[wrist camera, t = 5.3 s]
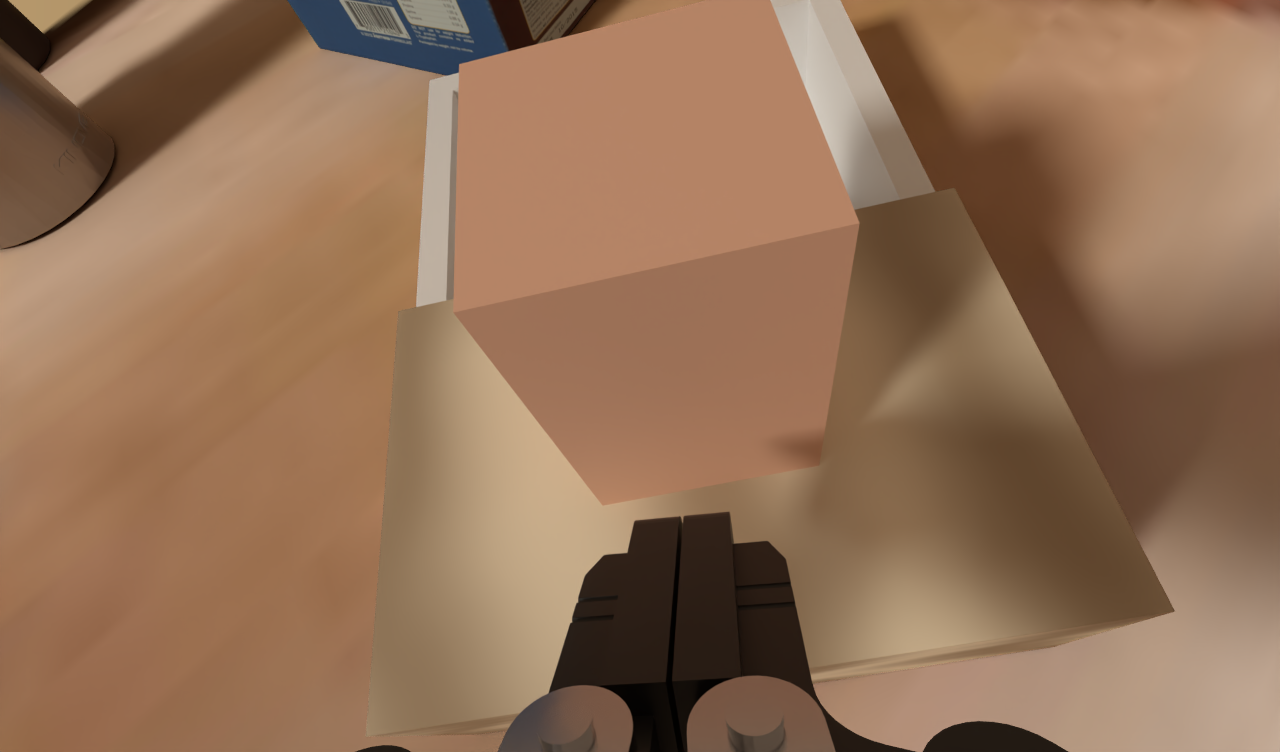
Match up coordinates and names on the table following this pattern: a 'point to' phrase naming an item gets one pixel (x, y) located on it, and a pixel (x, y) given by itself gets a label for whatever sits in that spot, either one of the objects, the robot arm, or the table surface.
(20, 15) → the bottle
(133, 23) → the table surface
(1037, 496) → the beige box sleeve
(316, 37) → the protein box
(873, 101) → the white inner box tray
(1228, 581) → the table surface
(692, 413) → the block
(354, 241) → the table surface
